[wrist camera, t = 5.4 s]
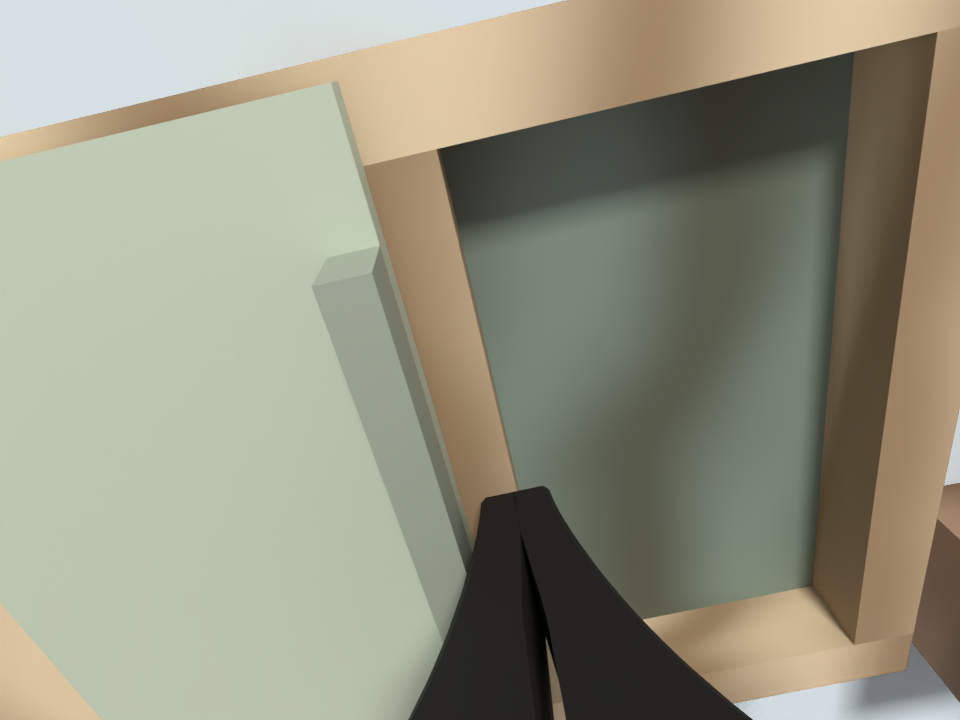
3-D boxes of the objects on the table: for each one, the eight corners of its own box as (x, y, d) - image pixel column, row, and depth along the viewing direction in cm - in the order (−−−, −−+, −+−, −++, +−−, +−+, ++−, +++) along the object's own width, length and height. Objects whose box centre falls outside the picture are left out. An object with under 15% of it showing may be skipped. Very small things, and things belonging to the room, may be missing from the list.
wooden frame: (924, -81, 10) (1069, -122, 8) (845, 591, 18) (905, 670, 16) (-362, 229, 11) (-571, 275, 9) (98, 740, 19) (51, 835, 17)
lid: (338, 81, 8) (313, 86, 6) (534, 747, 16) (545, 825, 14) (-270, 226, 8) (-435, 266, 7) (210, 809, 16) (185, 892, 14)
